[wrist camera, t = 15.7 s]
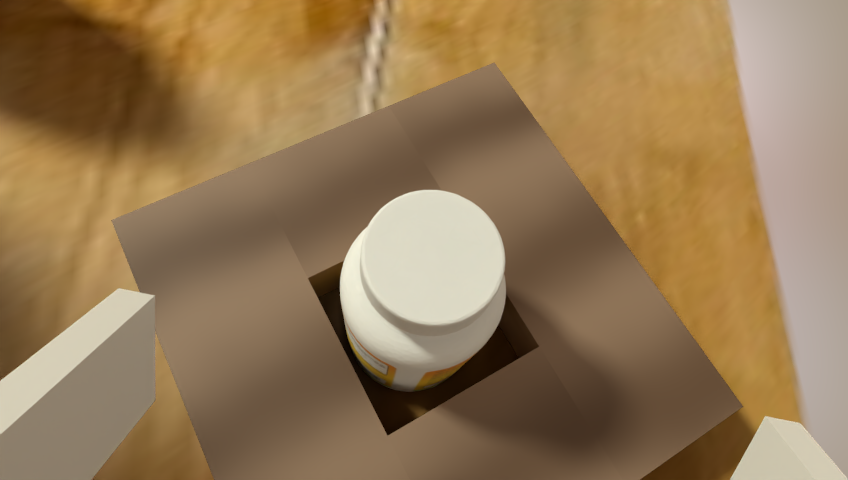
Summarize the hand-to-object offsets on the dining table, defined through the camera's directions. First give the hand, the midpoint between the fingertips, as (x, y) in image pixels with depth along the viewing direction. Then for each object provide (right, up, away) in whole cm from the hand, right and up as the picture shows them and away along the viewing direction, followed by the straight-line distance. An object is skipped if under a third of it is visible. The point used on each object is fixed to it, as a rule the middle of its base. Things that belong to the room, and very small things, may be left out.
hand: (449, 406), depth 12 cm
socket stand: (-1, 0, +12) cm, 12 cm away
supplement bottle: (-1, 0, +12) cm, 12 cm away
